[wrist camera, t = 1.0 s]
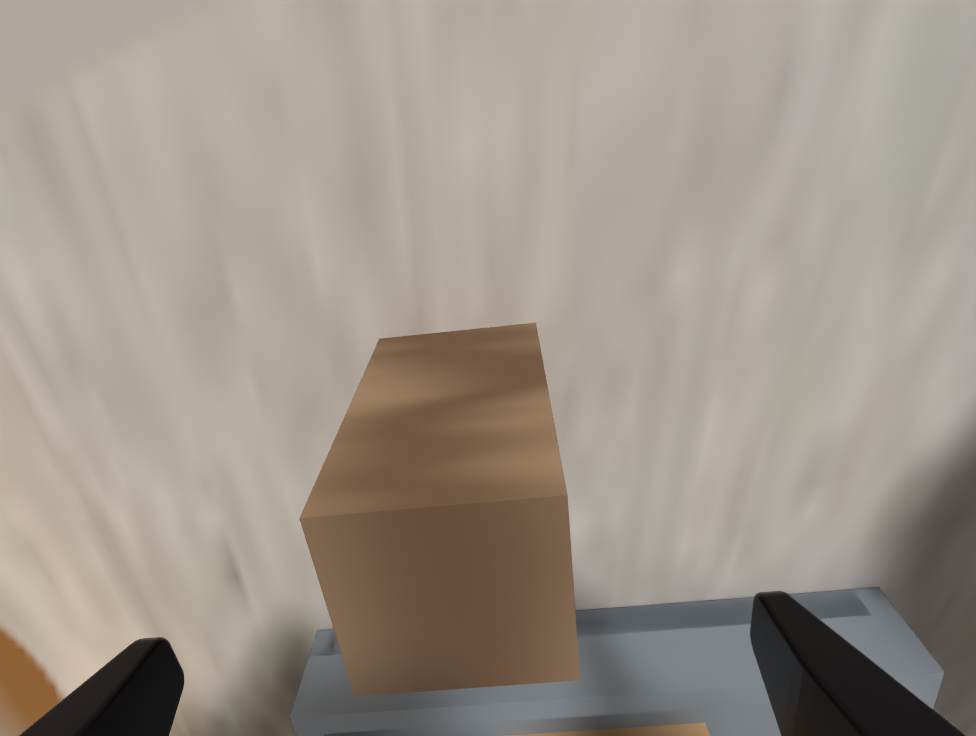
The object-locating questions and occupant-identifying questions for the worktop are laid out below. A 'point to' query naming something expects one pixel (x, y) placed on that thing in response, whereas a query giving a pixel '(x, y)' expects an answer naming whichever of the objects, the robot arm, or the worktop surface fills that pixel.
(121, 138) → the worktop surface
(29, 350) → the worktop surface
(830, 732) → the robot arm
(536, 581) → the brown rectangular block
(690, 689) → the box
